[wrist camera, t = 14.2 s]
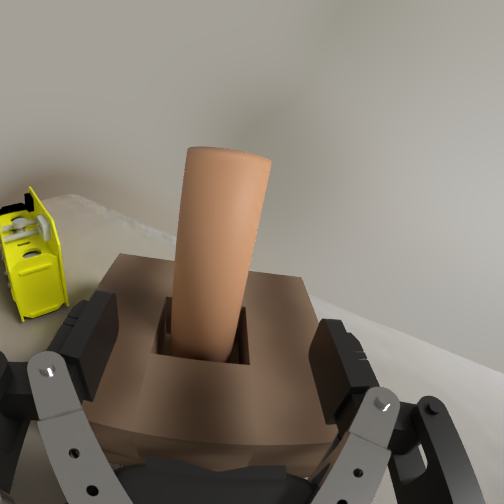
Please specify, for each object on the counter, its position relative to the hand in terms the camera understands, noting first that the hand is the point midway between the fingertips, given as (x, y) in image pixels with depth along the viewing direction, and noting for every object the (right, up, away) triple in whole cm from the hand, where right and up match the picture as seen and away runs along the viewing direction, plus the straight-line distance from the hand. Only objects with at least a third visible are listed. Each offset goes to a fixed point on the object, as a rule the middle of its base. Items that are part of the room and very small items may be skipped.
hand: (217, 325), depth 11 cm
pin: (-2, -5, +8) cm, 10 cm away
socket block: (-3, -6, +9) cm, 11 cm away
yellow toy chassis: (-23, 0, +15) cm, 27 cm away
